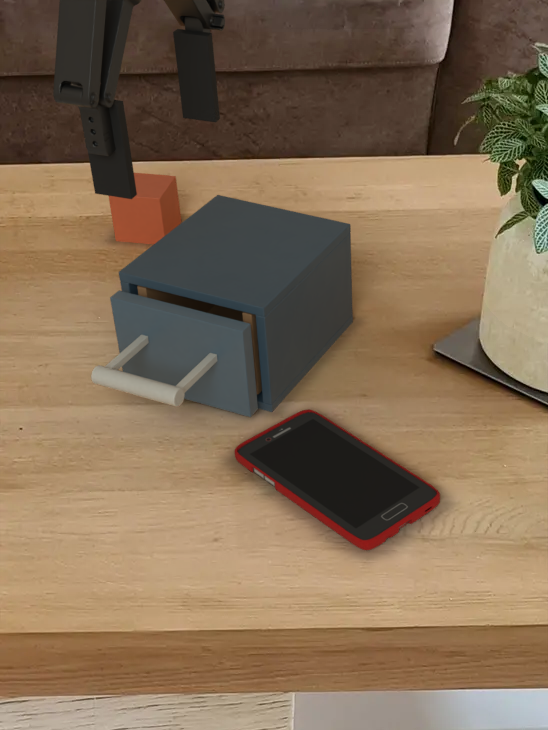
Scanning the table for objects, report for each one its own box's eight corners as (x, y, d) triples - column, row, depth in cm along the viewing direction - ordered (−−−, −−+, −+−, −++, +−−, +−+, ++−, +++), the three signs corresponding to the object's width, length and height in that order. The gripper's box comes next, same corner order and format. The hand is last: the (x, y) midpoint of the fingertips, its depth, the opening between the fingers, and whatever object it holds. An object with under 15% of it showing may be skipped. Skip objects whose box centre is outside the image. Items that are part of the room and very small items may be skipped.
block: (115, 242, 112) (107, 194, 109) (132, 218, 116) (125, 171, 113) (166, 246, 112) (159, 198, 109) (181, 222, 116) (176, 175, 113)
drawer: (208, 464, 85) (196, 375, 80) (76, 425, 88) (58, 338, 83) (329, 331, 99) (326, 249, 94) (213, 302, 102) (204, 221, 98)
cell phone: (366, 556, 79) (366, 546, 78) (229, 459, 86) (228, 448, 86) (445, 503, 83) (445, 493, 83) (308, 415, 91) (308, 405, 90)
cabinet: (272, 413, 91) (263, 308, 85) (135, 375, 95) (118, 271, 89) (353, 322, 102) (350, 223, 96) (227, 291, 106) (217, 194, 100)
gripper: (69, -127, 60) (127, 240, 73) (255, -206, 79) (275, 97, 92) (-59, -140, 62) (20, 223, 75) (154, -214, 81) (188, 85, 94)
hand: (161, 154), depth 84 cm, fingers open, 13 cm apart
